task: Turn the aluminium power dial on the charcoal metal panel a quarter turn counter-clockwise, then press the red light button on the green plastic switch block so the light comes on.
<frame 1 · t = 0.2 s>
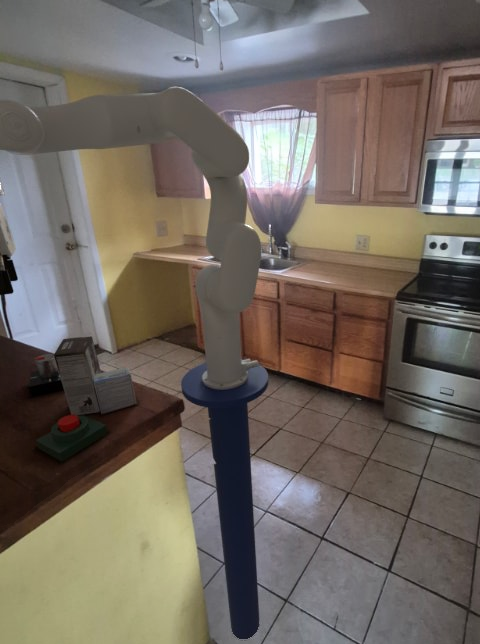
hand: (5, 287, 67), 33 cm above the table, tool pointing down, fingers open, 9 cm apart
medicine box: (118, 406, 90), on the table, touching coffee box
dial panel: (53, 384, 99), on the table
dial: (47, 365, 97), point 6 cm above the table, hinge at 0.0°
light button: (69, 423, 76), point 5 cm above the table, slide at 0.2 cm
coffee box: (89, 404, 90), on the table, touching medicine box
switch block: (74, 440, 78), on the table
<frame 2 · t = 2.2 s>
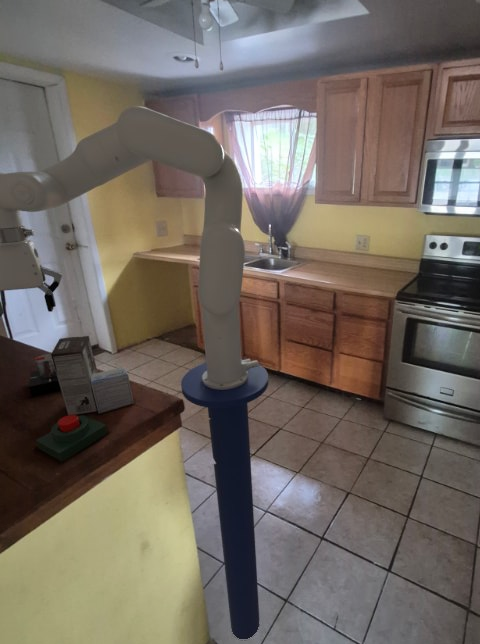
hand: (26, 312, 85), 23 cm above the table, tool pointing down, fingers open, 9 cm apart
medicine box: (115, 405, 90), on the table, touching coffee box
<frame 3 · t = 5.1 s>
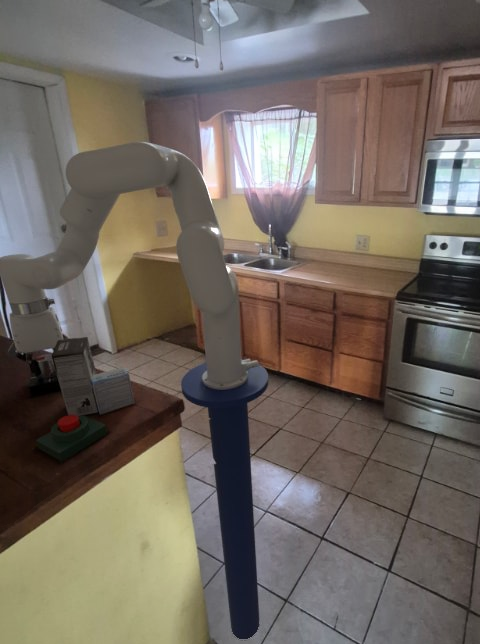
hand: (49, 371, 97), 4 cm above the table, tool pointing down, fingers closed on dial, 4 cm apart
dial: (47, 365, 97), point 6 cm above the table, hinge at 0.2°, touching gripper
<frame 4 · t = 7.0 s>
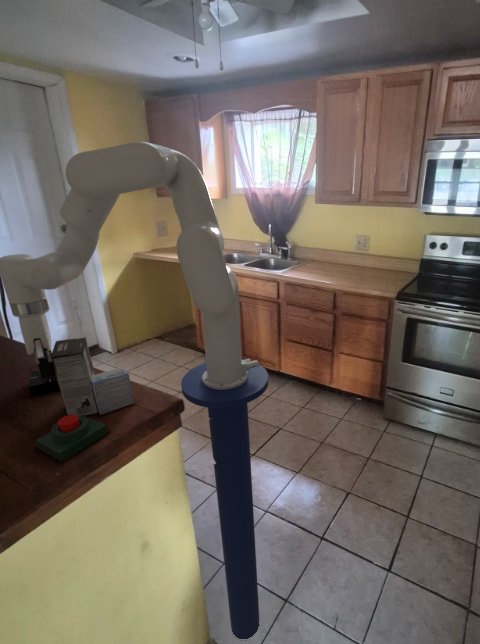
hand: (49, 371, 97), 4 cm above the table, tool pointing down, fingers closed on dial, 4 cm apart
dial: (47, 365, 97), point 6 cm above the table, hinge at 89.7°, touching gripper
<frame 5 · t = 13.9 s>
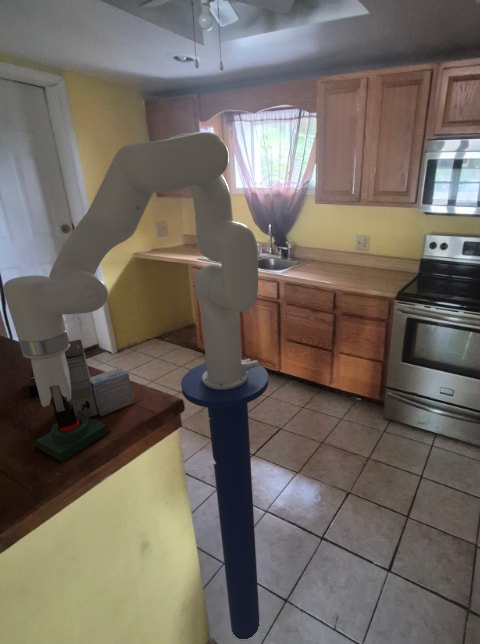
hand: (68, 423, 76), 4 cm above the table, tool pointing down, fingers closed
dial: (47, 365, 97), point 6 cm above the table, hinge at 88.2°
light button: (70, 427, 77), point 4 cm above the table, slide at -0.8 cm, touching gripper
coffee box: (82, 409, 88), on the table, touching medicine box
everything else where it was.
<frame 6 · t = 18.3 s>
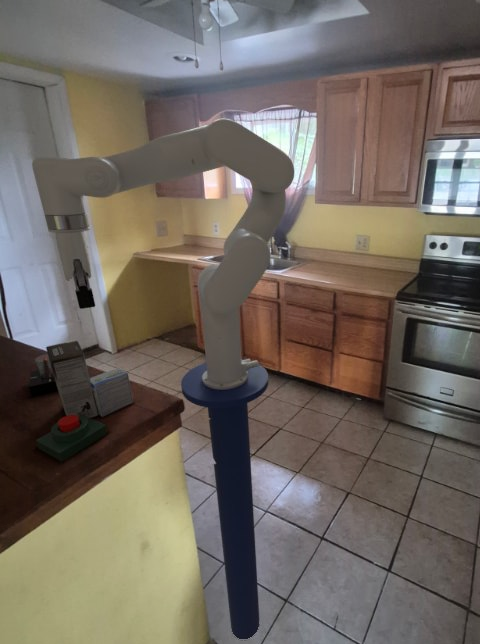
hand: (87, 306, 84), 24 cm above the table, tool pointing down, fingers closed
light button: (69, 423, 76), point 5 cm above the table, slide at 0.1 cm
at the end: dial at +88° (first picture: +0°); light button pushed in 1.1 cm at the most during the clip, back to where it started at the end; light button slide at 0.1 cm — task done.
